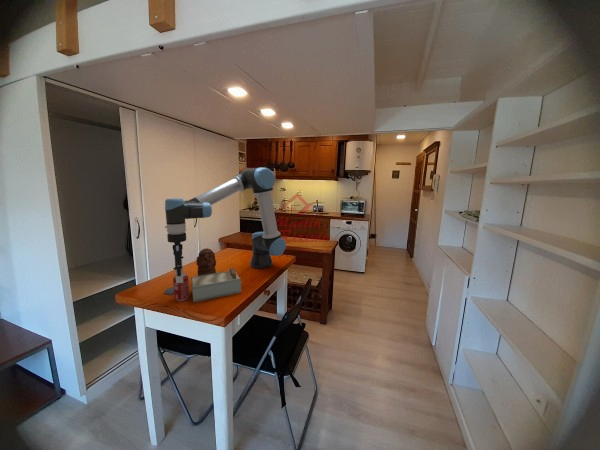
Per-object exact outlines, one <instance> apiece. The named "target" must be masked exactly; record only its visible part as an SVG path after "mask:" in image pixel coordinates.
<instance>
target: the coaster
mask: <svg viewBox="0 0 600 450" xmlns="http://www.w3.org/2000/svg"><path fill="white" fill-rule="evenodd" d="M164 295H167V296H173V295H174V286H171V287H169V288H166V289H165V290H164Z"/></svg>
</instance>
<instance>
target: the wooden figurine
mask: <svg viewBox="0 0 600 450" xmlns="http://www.w3.org/2000/svg"><path fill="white" fill-rule="evenodd" d="M215 255H216V254H215V252H214V251H213V250H212V249H211V248H208V247H207V248H202V249H201V250H200V251H199V252H198V256H197V257H196V260H195V261H196V266H197V276H201V275H207V274H214V273H217V270H216V266H217V260H216V256H215Z"/></svg>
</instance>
